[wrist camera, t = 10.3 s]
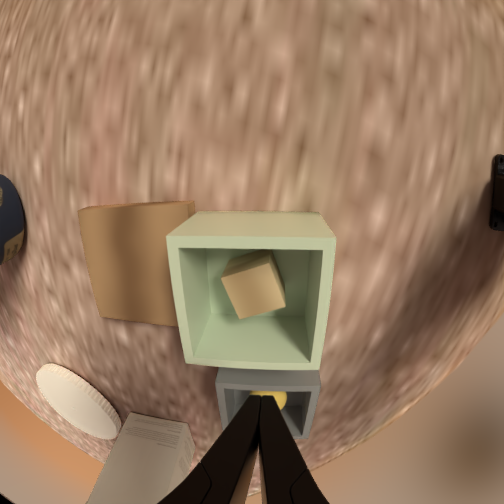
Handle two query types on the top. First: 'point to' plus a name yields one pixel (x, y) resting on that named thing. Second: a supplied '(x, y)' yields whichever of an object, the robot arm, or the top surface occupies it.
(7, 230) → the canister
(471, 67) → the top surface
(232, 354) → the pale green hollow box
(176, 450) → the skincare box
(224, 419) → the grey open box
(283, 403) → the ball
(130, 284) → the lid
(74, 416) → the plastic lid
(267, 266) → the cube
